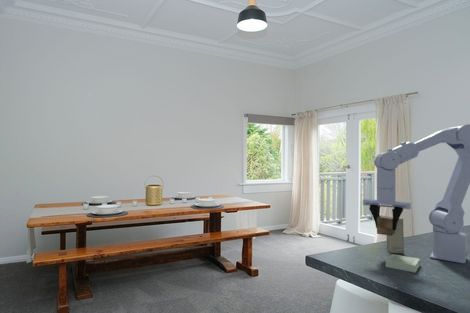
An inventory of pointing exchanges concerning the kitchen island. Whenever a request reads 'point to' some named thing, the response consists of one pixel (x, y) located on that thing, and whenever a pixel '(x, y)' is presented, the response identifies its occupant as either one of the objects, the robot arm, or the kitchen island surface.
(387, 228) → the walnut block
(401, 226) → the skincare box
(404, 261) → the base slab
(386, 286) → the kitchen island surface
